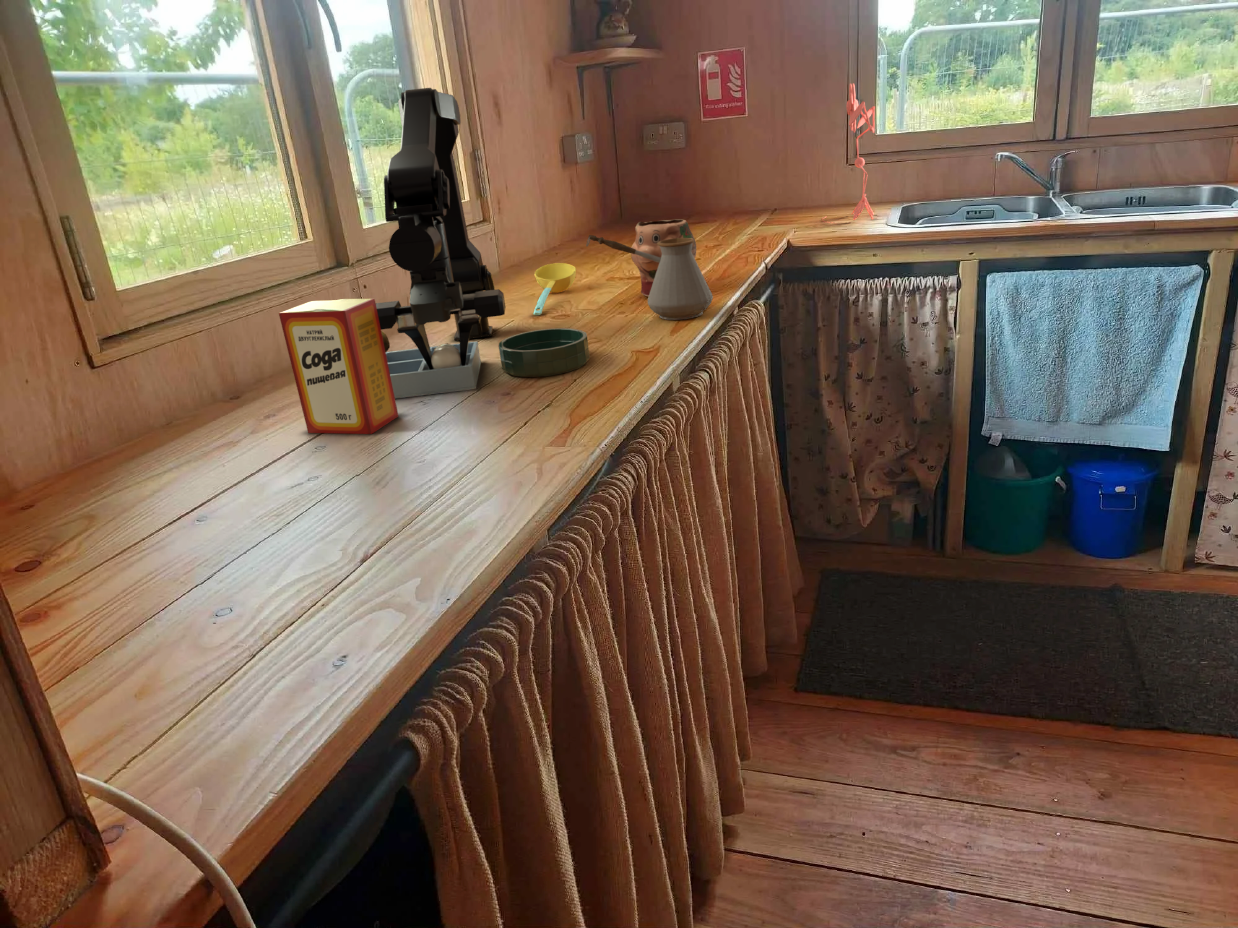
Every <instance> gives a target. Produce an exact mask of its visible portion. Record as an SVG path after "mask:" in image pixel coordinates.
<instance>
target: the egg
mask: <svg viewBox="0 0 1238 928" xmlns="http://www.w3.org/2000/svg"><path fill="white" fill-rule="evenodd" d="M437 346H438V347H437V348H436V349H435V350H434V352H433V354H432V357H431V363H432V366H433V368H434V369H441V368H450V367H458V366H460V365H461V358H460V351H459V350H458V348H457V347H455V346H454V345H451V343H442V344H440V345H439V344H438V345H437Z"/></svg>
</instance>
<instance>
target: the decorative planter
mask: <svg viewBox="0 0 1238 928" xmlns="http://www.w3.org/2000/svg"><path fill="white" fill-rule="evenodd" d="M634 229H635V230H634V231H635V240H634V242H633V243H632V245H631V246H630V247H631V248H633V249H636V250H638V251H641V252H644V253H647V254H651V255H654V256H657V257H661V256H662V252H661V249H660V246H658V245H657V242H659V241H663V240H667V239H674V238H693V239H694V240H695V241H694V242H693V243H692V250H691V252H692V254H693V256H694V258H695V259H696V257H697V242H696V238H695V236H694V234H693V232H692V231H691V228H690V225H689V223H688V221H687V220H686V219H683V218H682V219H666V220H665V219H663V220H662V219H661V220H652V221H651V220H650V221H639V222H638V223H637V224H636V226H635V228H634ZM630 255H631V260H632V262H633V264H634V265H635V266H636V268H637V269H638V271H639V275H640V284H641V289H640V294H641V295H643V296H645V297H649V294H650V291H651V288H652V285H653V281H654V278H655V275H656V272H657V269H658V266H659V263H658V262H655V261H652V260H650V259H647V258H644V257H641V256H639V255H636V254H631V253H630Z"/></svg>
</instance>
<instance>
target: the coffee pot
mask: <svg viewBox="0 0 1238 928" xmlns="http://www.w3.org/2000/svg"><path fill="white" fill-rule="evenodd" d="M591 241H593V242H598V244H599V245H605V246H608V247H609V248H611V249H613V250H617V251H620V252H624V253H628V254H630V255H631V254H636V255H639V256H641V257H644V258H647V259H650V260H652V261H655V262H658V263H659V266H658V269H657V272H656V275H655V278H654V281H653V285H652V288H651V291H650V294H649V296H647V297H648V298H647V306H648V308H649V309H650V310H651V311H652V312H653V313H655V314H656V315H658V316H659V318H660V319H662V320H666V321H667V320H668V321H676V320H677V321H678V320H679V321H680V320H687V319H688V320H689V319H694V318H697V317H700V316H702V315H703V314H704V311H706V310H707V309H708V308H709V307H710V305H711V304H712V301H713V299H714V295H713V293H712V291H711V289H710V287H709V284H708V282H707V281H706V279H705V276H704V274H703V272H702V270H701V268H700V267H699V265H698V264H699V263H698V262H697V261H696V257H695V258H694V256H693V254H692V252H691V250H692V243H693V242H694V241H695V242H696V239H695V240H694V239H693V238H674V239H667V240H663V241H659V242H657V245H658V246H660V249H661V252H662V256H661V257H657V256H654V255H651V254H647V253H644V252H641V251H638V250H636V249H633V248H631V247H632V246H628V245H625V244H623V243H620V242H618V241H616V240H609V239H605V238H604V237H602V236H601V237H598V236H596V235H592V234H589V235H588V237H587V240H586V244H585V247H587V248H588V247H589V245H590V242H591Z"/></svg>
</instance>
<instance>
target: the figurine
mask: <svg viewBox="0 0 1238 928" xmlns="http://www.w3.org/2000/svg"><path fill="white" fill-rule="evenodd" d="M848 90H849V91H848V94H849V96H848V97H849V99H848V100H847V102H846V113H847V115H848V116H849V121H848V126H849V127H850V131H851V132H852V131H853V133H854V134H855V133H856V130H858V129H859V128H861V126H863V125H864V124H865V123H866V124H867V126H868V127H867V129H865V130H864V131H863V132H861V133H860V134H859V135H858V136H856V138H855V145H856V157H857V158H856V159H855V160H854V166H855V167H856V168H858V169H860V170H862V172H863V174H862V175H863V176H862V178H863V179H862V195H861V199H860V200H859V202H858V203H857V204H856V206H855V207H854V209H853V211H852V212H851V215H853V216H852V217H853V218H852V220H853V221H856V219H858V218H859V216H860V215H861V214H862V212H863V211H864V209H866V211H867V213H868V216H869V217H870V219H871V220H872V221H873V220H874V215H875V213H874V211H873V210H872V207H871V206H870V203H869V202H868V199H867V197H866V196H867V193H865V192H866V187H867V182H868V176H869V175H868V173H867V171H866V169H865V168H864V166H865V164H866V162H865V161H866V160H865V159H864V158H863V157H860V154H859V153H860V152H859V151H860V150H859V139H860V138H861V137H862V136H864V134H866V133H867V132H868V131H869V132H872V134H875V129H876V127H875V126H876V125H875V124H876V123H875V119H876V118H875V114H876V113H875V111H876V106H874V105H872V107H870V108H869V109H868V110H867V108H866V107H867V106H866V102H865V101H864V100H863V101H861V103H860V104H859V100H858V99H856V96H857V95H856V86H855V83H854V82H853V83H851V82H850V83H849V85H848ZM863 111H864V112H863ZM860 115H861V117H860V119H859V120H858V122H857V119H858V117H859V116H860ZM871 116H872V124H871V121H870V117H871ZM826 218H827V216H823V217H822V218H821V221H822V222H823V223H826V221H825V220H824V219H826ZM827 223H829V224H834V222H831V221H827Z"/></svg>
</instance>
